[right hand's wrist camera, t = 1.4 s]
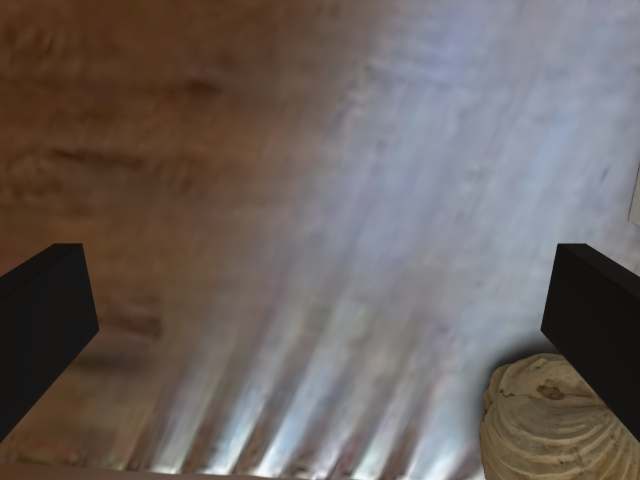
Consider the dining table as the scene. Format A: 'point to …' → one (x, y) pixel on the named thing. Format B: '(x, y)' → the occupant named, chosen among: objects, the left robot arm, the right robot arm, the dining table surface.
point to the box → (636, 203)
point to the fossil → (551, 426)
